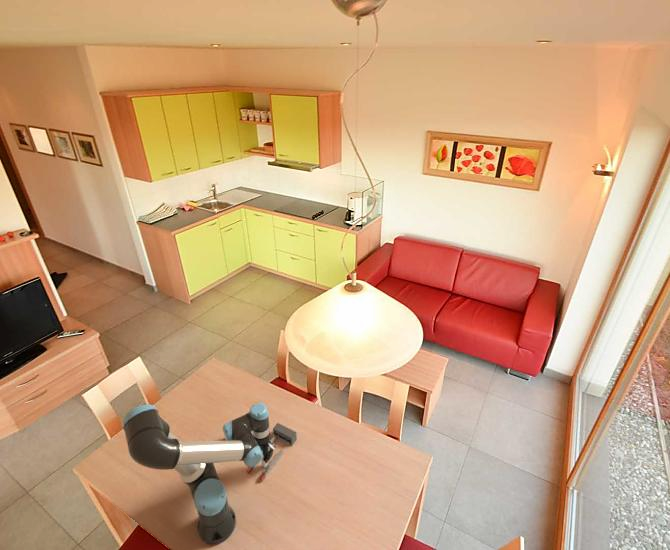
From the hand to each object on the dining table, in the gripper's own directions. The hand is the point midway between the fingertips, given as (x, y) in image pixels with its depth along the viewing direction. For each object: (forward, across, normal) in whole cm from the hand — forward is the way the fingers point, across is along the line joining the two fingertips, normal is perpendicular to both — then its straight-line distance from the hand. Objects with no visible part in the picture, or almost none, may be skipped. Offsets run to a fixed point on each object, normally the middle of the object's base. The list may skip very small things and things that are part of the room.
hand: (265, 465), depth 185 cm
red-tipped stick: (+1, -3, -1) cm, 3 cm away
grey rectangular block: (+1, +1, -18) cm, 18 cm away
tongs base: (+1, +1, -7) cm, 7 cm away
